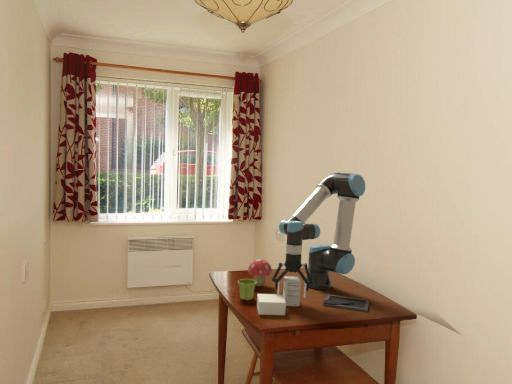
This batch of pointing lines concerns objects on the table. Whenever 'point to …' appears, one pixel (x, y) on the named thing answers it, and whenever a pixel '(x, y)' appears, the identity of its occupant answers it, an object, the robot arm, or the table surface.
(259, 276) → the decorative mushroom
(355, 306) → the picture frame
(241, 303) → the table surface
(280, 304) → the plinth
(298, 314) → the table surface
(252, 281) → the plant pot
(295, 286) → the supplement box
